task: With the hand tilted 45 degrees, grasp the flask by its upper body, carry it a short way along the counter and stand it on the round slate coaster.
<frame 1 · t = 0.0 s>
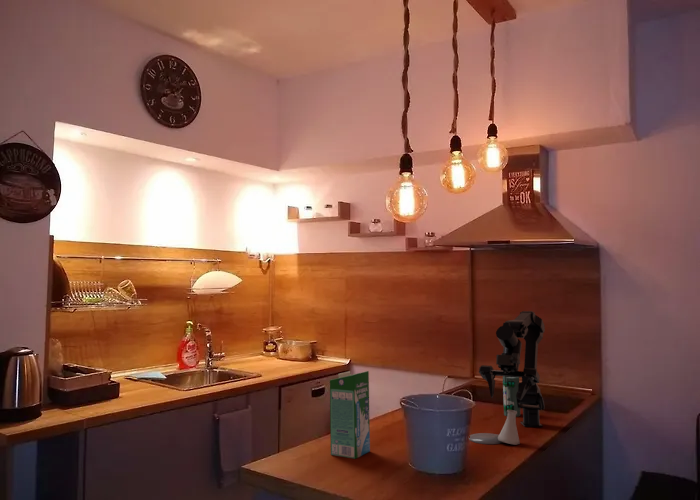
hand: (505, 398, 177), 15 cm above the worktop, tool tilted 35°, fingers open, 9 cm apart
flask: (508, 442, 179), on the worktop, touching slate coaster
can: (512, 415, 220), on the worktop
slate coaster: (487, 439, 184), on the worktop
milk carton: (350, 453, 170), on the worktop
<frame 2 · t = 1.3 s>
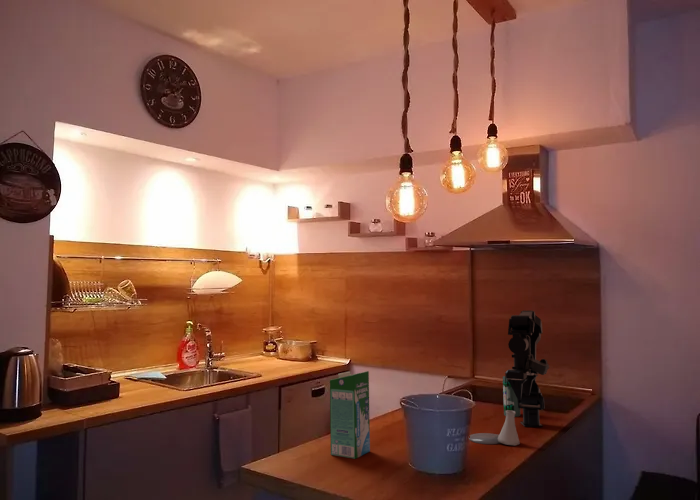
hand: (523, 397, 189), 13 cm above the worktop, tool pointing down, fingers open, 9 cm apart
nothing on the worktop moved.
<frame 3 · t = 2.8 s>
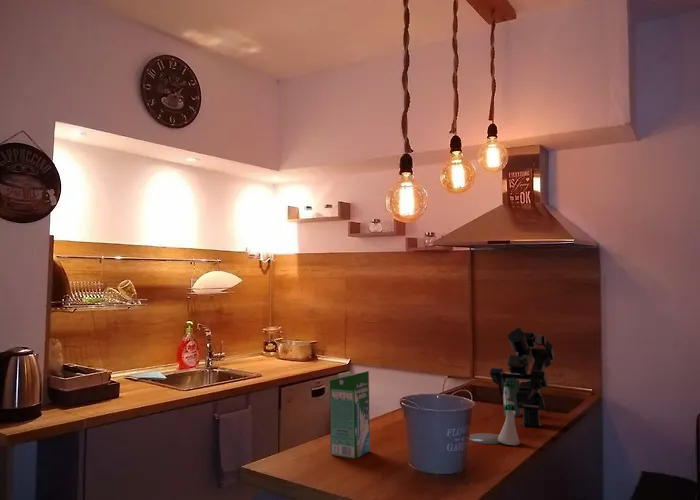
hand: (514, 397, 187), 13 cm above the worktop, tool tilted 45°, fingers open, 9 cm apart
nothing on the worktop moved.
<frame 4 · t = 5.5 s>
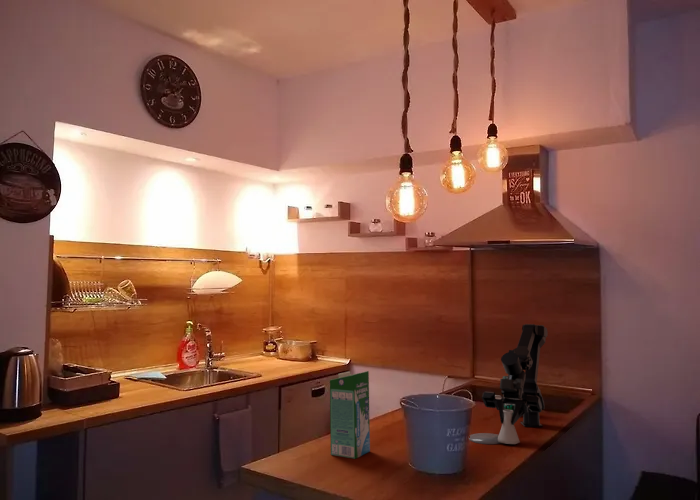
hand: (506, 423, 178), 7 cm above the worktop, tool tilted 45°, fingers closed on flask, 3 cm apart
flask: (508, 442, 179), on the worktop, touching gripper, slate coaster
everything else where it was.
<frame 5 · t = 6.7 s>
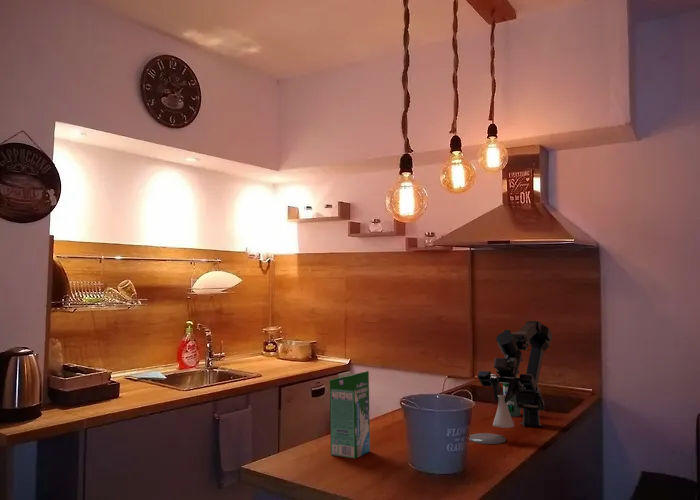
hand: (500, 401, 181), 13 cm above the worktop, tool tilted 45°, fingers closed on flask, 3 cm apart
flask: (503, 426, 181), point 5 cm above the worktop, touching gripper
everything else where it was.
when the fingers open (9 cm above the worktop, at t = 8.2 s): flask stays where it is, resting on slate coaster.
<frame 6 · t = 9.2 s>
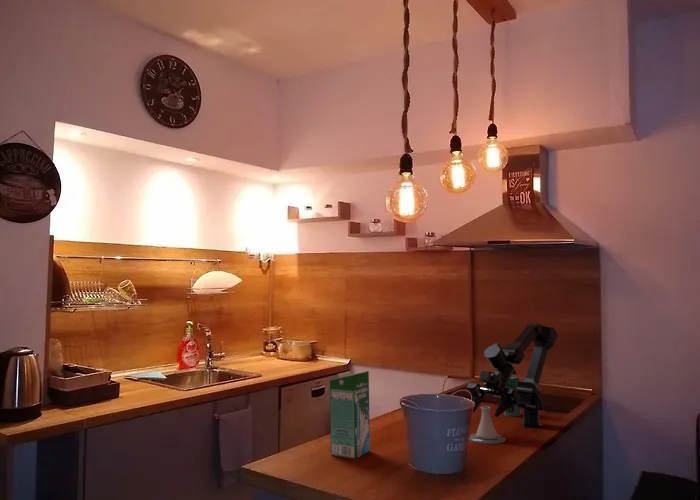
hand: (483, 413, 184), 9 cm above the worktop, tool tilted 45°, fingers open, 9 cm apart
flask: (486, 438, 184), resting on slate coaster
everything else where it was.
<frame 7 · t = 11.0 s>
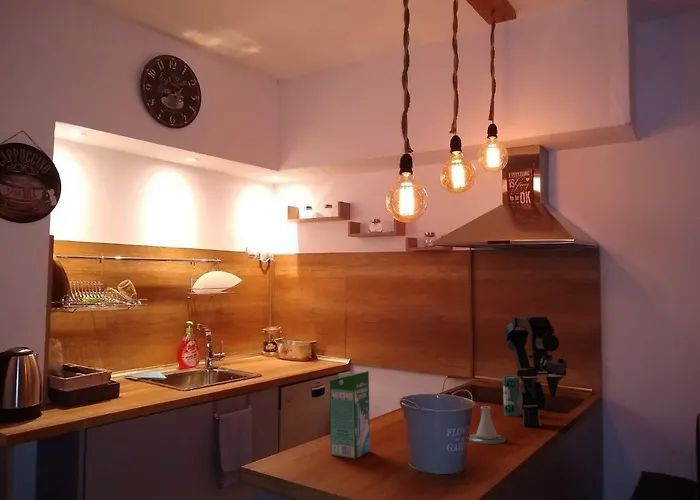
hand: (543, 397, 190), 12 cm above the worktop, tool pointing down, fingers open, 9 cm apart
nothing on the worktop moved.
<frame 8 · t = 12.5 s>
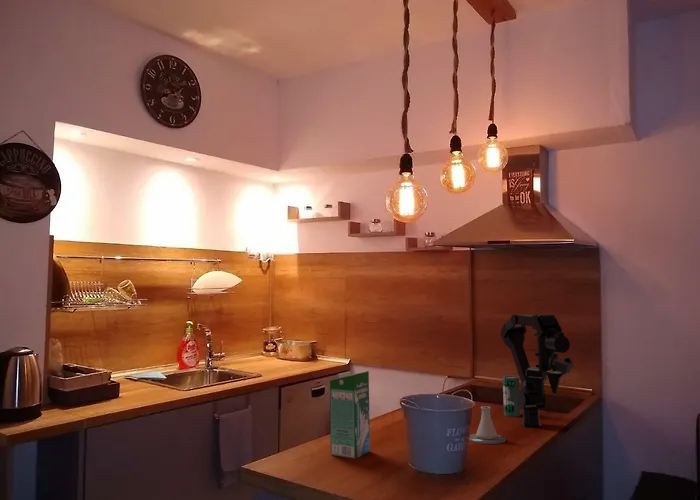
hand: (548, 395, 192), 13 cm above the worktop, tool pointing down, fingers open, 9 cm apart
nothing on the worktop moved.
at the end: flask 0.3 cm from the slate coaster (horizontally); flask tilted 0°; the gripper is holding nothing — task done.
